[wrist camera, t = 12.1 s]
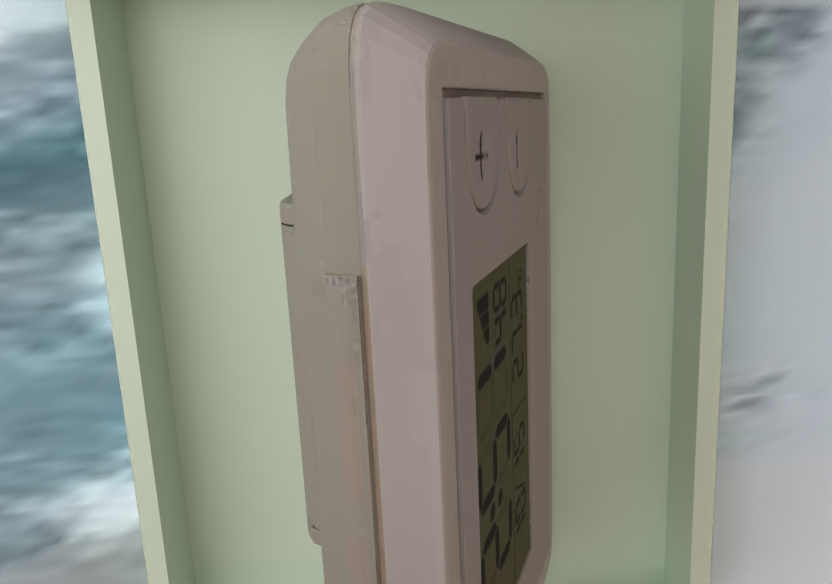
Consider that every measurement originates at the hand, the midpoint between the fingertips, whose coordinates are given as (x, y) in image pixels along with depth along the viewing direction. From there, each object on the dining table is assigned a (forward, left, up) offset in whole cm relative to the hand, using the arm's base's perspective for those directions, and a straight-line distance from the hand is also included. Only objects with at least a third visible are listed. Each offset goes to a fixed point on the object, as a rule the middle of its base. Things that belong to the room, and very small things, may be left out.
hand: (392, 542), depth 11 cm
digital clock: (+1, 0, -13) cm, 13 cm away
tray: (0, 0, -13) cm, 13 cm away
